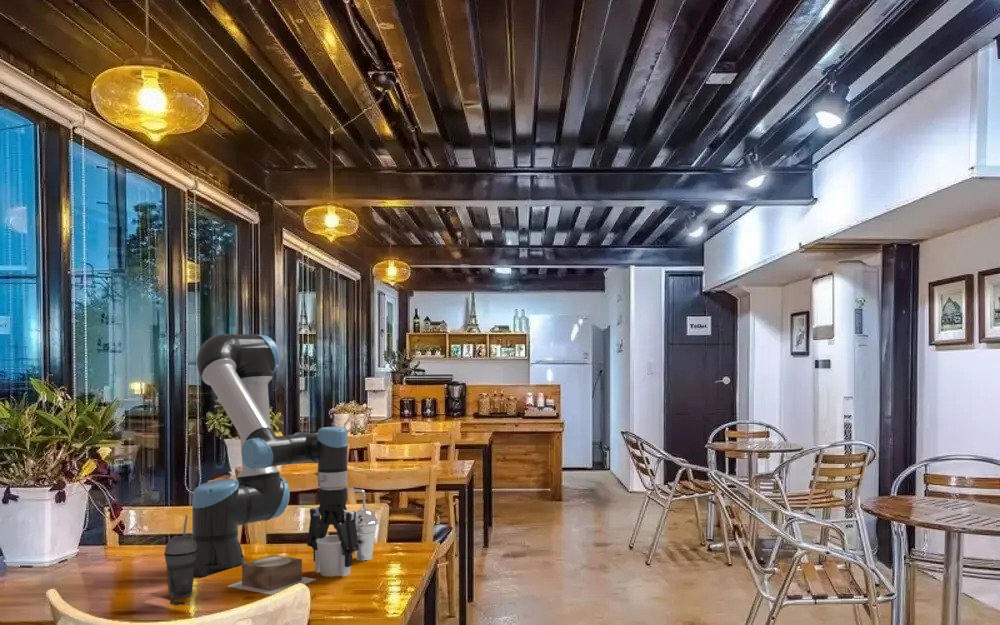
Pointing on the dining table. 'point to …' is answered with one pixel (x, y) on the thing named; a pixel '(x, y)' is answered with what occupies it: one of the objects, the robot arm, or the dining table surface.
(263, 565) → the brown block
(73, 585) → the dining table surface
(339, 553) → the dixie cup
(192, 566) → the beverage cup
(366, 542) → the cup with straw
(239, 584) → the board
